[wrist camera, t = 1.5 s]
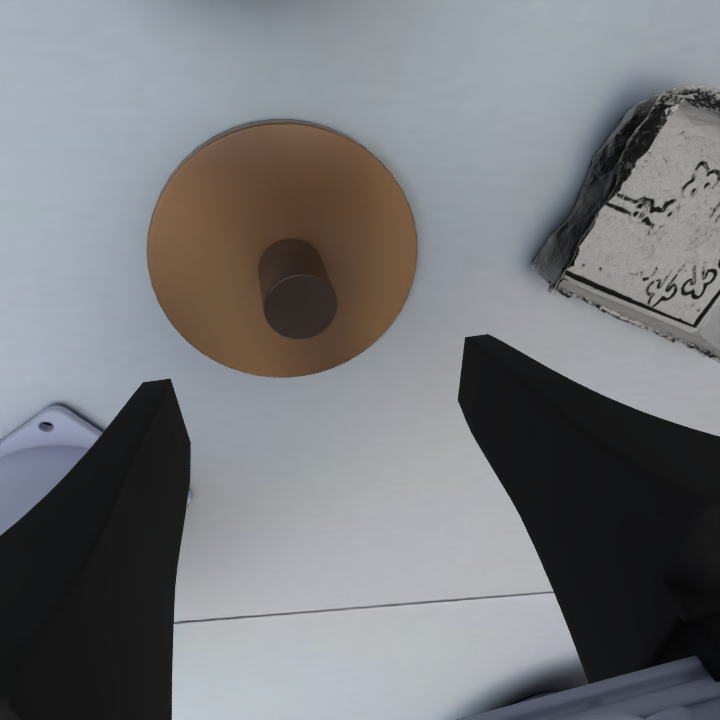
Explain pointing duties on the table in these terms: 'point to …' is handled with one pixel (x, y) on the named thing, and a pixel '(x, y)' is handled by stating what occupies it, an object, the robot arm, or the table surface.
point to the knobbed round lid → (281, 248)
